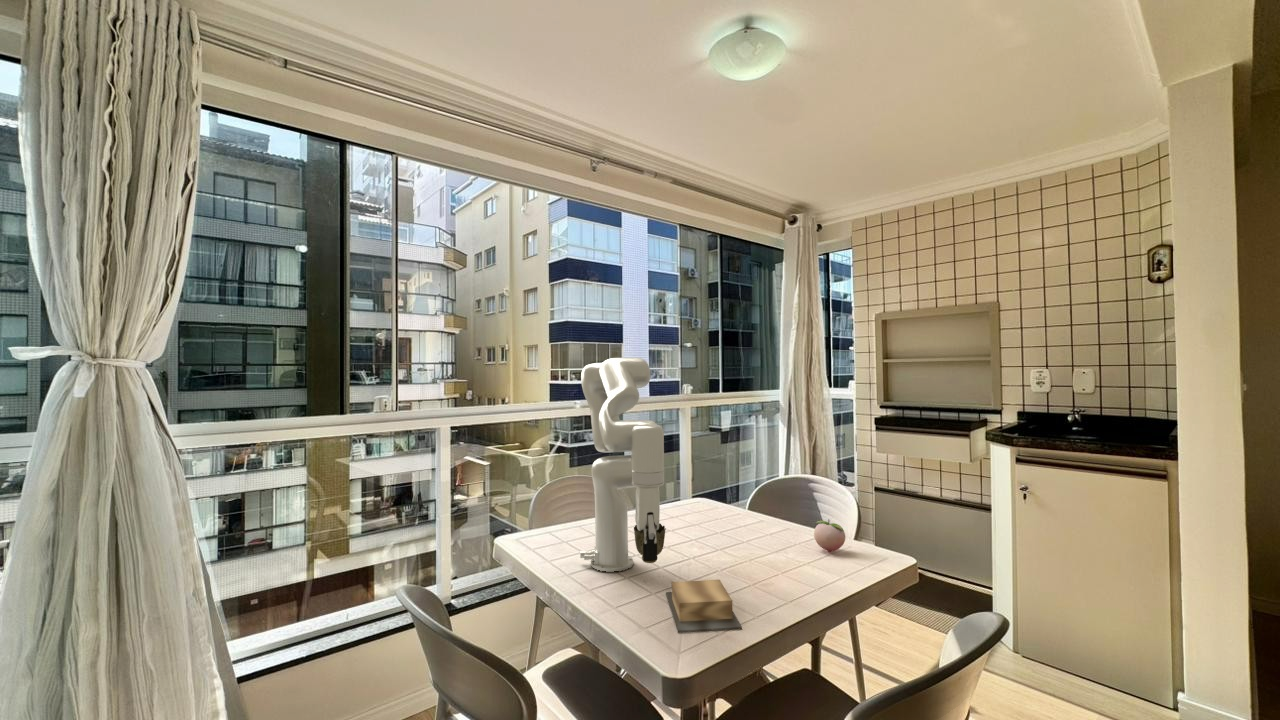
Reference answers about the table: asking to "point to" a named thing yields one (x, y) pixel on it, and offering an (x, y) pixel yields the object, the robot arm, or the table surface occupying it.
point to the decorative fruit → (829, 535)
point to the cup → (640, 540)
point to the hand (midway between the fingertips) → (648, 553)
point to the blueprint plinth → (701, 606)
